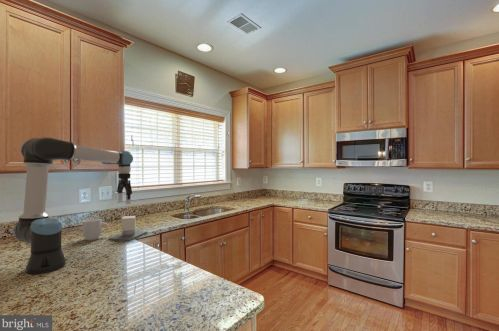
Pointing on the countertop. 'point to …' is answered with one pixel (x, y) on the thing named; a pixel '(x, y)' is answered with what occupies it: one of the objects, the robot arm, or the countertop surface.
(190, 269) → the countertop surface
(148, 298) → the countertop surface
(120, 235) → the post base
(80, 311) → the countertop surface
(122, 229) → the cream cube block
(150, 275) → the countertop surface
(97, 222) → the mug
